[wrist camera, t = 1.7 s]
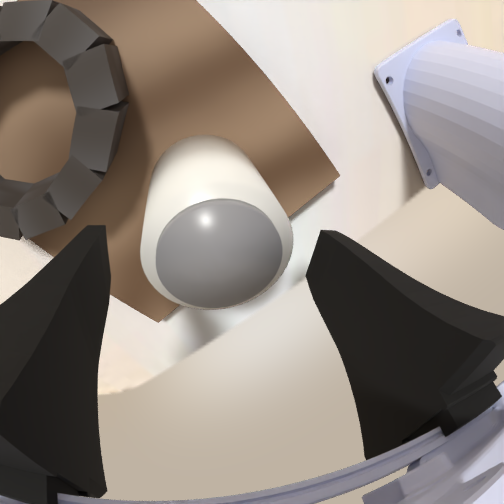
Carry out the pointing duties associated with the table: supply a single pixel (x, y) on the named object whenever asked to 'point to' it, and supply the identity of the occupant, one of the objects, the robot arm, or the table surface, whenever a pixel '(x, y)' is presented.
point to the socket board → (129, 121)
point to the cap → (212, 226)
